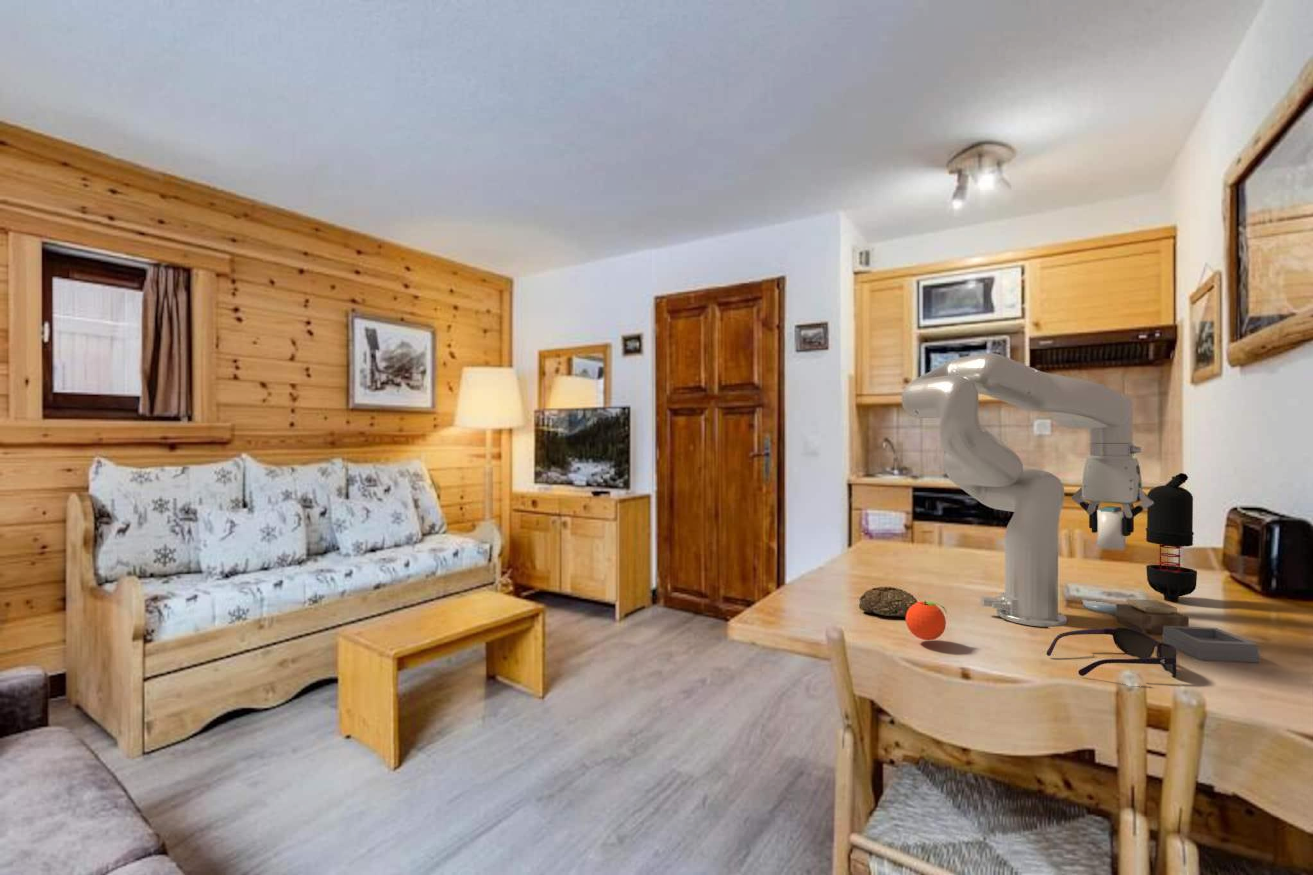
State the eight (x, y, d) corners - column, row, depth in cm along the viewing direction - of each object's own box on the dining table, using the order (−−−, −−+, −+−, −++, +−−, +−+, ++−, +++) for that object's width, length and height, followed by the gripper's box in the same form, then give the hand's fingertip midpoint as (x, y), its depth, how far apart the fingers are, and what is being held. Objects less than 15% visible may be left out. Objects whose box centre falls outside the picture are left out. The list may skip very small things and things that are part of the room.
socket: (1199, 659, 101) (1199, 642, 101) (1162, 641, 110) (1162, 625, 110) (1258, 662, 100) (1259, 644, 100) (1216, 643, 109) (1216, 627, 109)
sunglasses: (1194, 683, 93) (1194, 651, 93) (1092, 683, 93) (1092, 651, 93) (1126, 652, 106) (1126, 624, 106) (1037, 651, 106) (1037, 623, 106)
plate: (1099, 614, 127) (1099, 609, 127) (1073, 601, 137) (1073, 596, 137) (1150, 616, 126) (1150, 611, 126) (1120, 603, 136) (1120, 598, 136)
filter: (1210, 609, 131) (1210, 473, 131) (1161, 606, 133) (1161, 473, 133) (1173, 593, 144) (1173, 470, 144) (1129, 591, 146) (1129, 469, 146)
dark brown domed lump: (911, 602, 137) (911, 581, 137) (926, 619, 125) (926, 595, 125) (854, 600, 139) (854, 578, 139) (862, 615, 127) (862, 592, 127)
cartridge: (1121, 551, 128) (1121, 509, 128) (1093, 547, 132) (1093, 507, 132) (1128, 548, 131) (1128, 507, 131) (1101, 544, 135) (1101, 505, 135)
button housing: (1142, 633, 115) (1142, 615, 115) (1116, 620, 123) (1116, 603, 123) (1188, 635, 114) (1188, 617, 114) (1159, 622, 122) (1159, 605, 122)
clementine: (935, 631, 116) (935, 595, 116) (959, 643, 109) (959, 605, 109) (898, 634, 115) (898, 597, 115) (919, 646, 108) (920, 607, 108)
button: (1145, 623, 116) (1145, 606, 116) (1126, 615, 121) (1126, 599, 121) (1177, 625, 115) (1177, 608, 115) (1156, 616, 121) (1156, 600, 121)
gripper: (1165, 451, 127) (1165, 537, 127) (1072, 450, 140) (1072, 527, 140) (1155, 452, 122) (1155, 541, 122) (1060, 451, 136) (1060, 530, 136)
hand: (1111, 532), depth 131 cm, fingers closed on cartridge, 5 cm apart
